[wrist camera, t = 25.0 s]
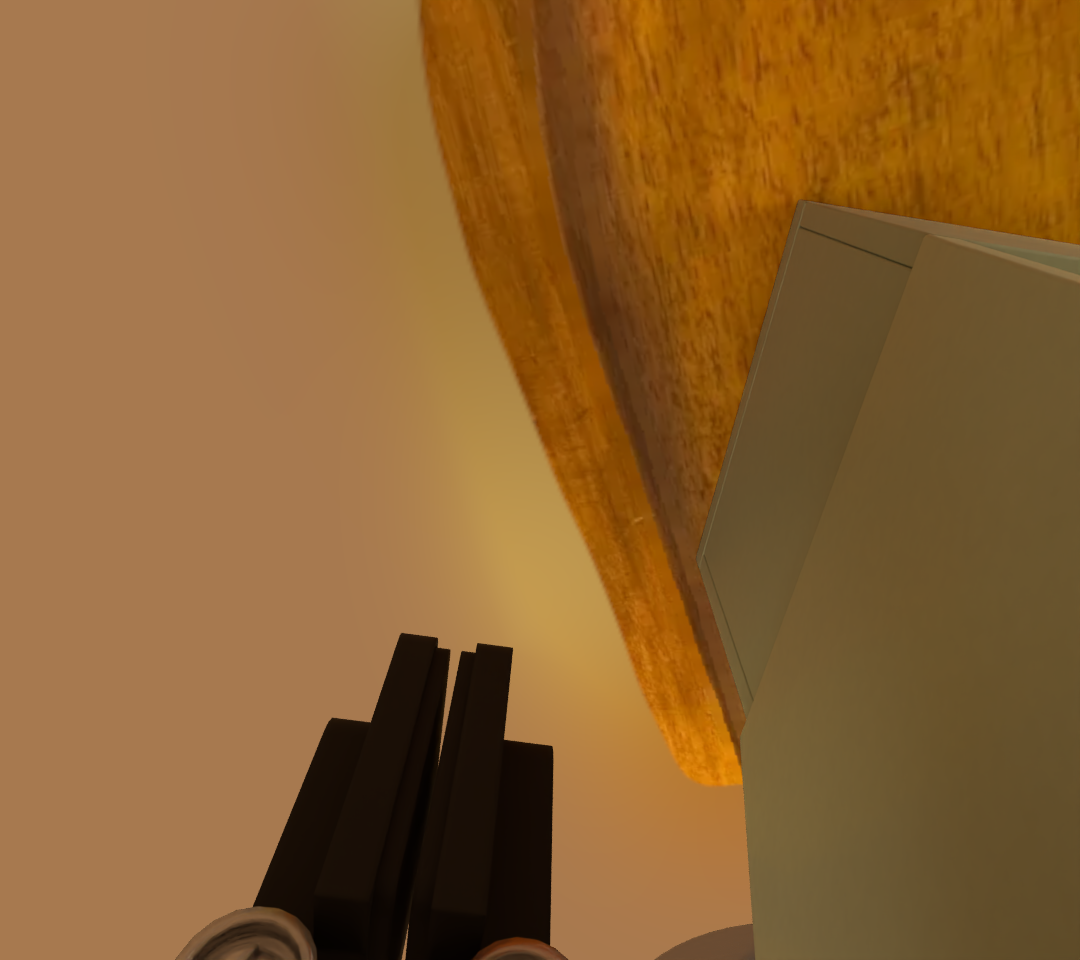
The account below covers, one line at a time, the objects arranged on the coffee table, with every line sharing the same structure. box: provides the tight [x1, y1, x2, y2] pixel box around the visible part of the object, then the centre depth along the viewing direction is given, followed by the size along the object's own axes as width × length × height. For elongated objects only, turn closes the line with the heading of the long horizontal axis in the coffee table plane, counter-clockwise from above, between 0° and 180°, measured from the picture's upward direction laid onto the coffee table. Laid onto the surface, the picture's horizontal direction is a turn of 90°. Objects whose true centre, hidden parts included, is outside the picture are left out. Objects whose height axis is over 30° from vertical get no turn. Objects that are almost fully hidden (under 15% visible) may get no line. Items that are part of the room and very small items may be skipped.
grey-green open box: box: [696, 200, 1080, 719], centre depth 23 cm, size 16×15×10 cm
